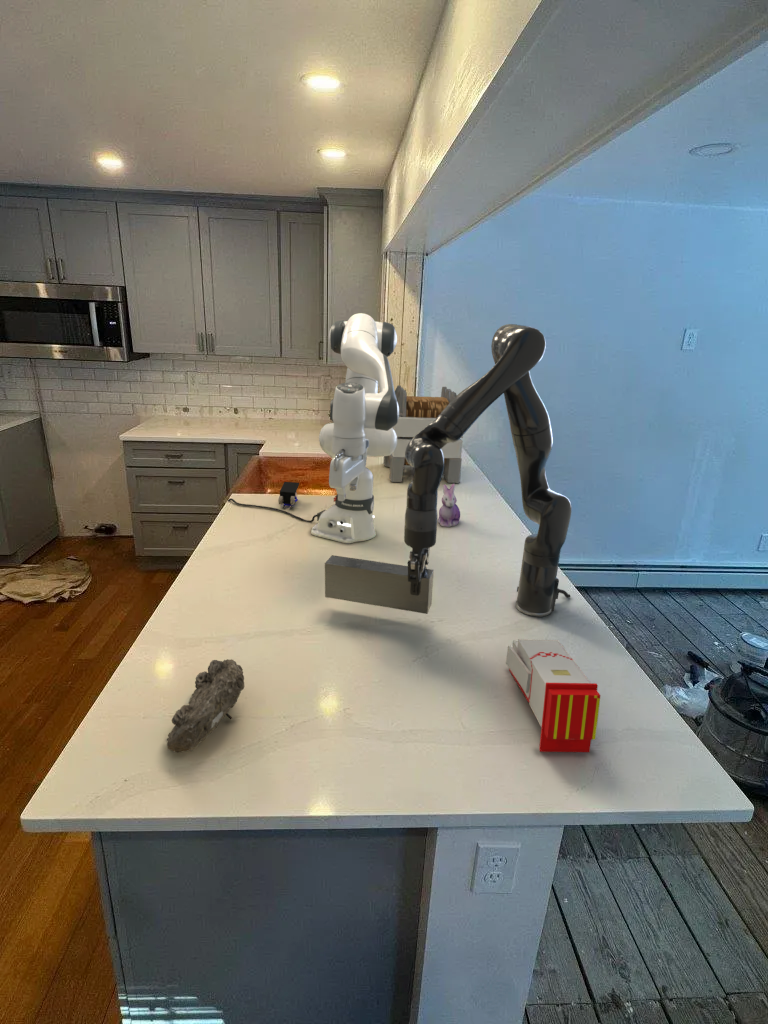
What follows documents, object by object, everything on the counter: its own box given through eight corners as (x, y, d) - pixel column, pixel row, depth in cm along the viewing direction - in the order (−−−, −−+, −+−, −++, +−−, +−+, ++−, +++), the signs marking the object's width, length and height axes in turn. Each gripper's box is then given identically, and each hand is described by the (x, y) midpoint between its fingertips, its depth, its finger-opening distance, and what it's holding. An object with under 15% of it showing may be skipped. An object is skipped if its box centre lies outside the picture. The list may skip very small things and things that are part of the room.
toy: (554, 622, 128) (610, 691, 98) (548, 677, 130) (601, 759, 101) (501, 621, 127) (541, 690, 98) (496, 676, 130) (534, 758, 101)
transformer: (382, 463, 289) (386, 382, 275) (445, 464, 293) (451, 384, 279) (390, 482, 257) (394, 392, 243) (460, 483, 261) (468, 394, 247)
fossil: (192, 660, 117) (244, 628, 112) (224, 691, 120) (276, 661, 115) (142, 746, 98) (202, 712, 93) (182, 779, 101) (242, 748, 96)
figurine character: (295, 514, 218) (300, 497, 231) (295, 496, 214) (299, 480, 228) (278, 513, 217) (283, 497, 231) (277, 495, 214) (283, 480, 227)
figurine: (445, 529, 206) (449, 489, 200) (430, 519, 214) (433, 481, 209) (467, 525, 210) (470, 487, 205) (451, 516, 218) (454, 479, 213)
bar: (325, 597, 143) (324, 563, 140) (332, 588, 148) (331, 554, 145) (427, 614, 137) (429, 578, 133) (431, 604, 141) (433, 569, 138)
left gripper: (346, 456, 141) (345, 508, 145) (371, 439, 159) (369, 486, 164) (323, 453, 142) (322, 505, 147) (350, 437, 161) (348, 483, 165)
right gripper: (430, 537, 125) (426, 605, 131) (442, 516, 138) (438, 578, 144) (397, 533, 127) (395, 600, 133) (412, 512, 140) (409, 574, 146)
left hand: (347, 495), depth 156 cm, fingers open, 8 cm apart
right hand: (417, 588), depth 138 cm, fingers closed on bar, 5 cm apart
